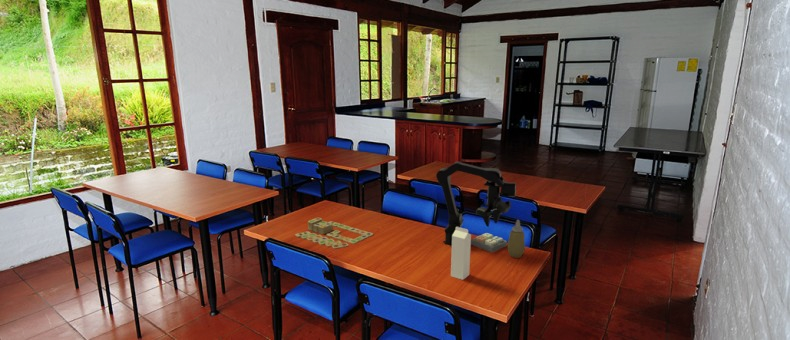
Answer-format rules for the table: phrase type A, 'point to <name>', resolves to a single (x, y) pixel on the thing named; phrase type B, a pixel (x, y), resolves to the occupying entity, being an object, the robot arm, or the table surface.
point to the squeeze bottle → (516, 241)
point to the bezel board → (487, 247)
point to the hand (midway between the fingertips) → (491, 224)
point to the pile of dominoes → (325, 227)
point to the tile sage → (487, 235)
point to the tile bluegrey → (497, 239)
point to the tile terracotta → (480, 239)
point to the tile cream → (490, 242)
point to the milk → (460, 253)
